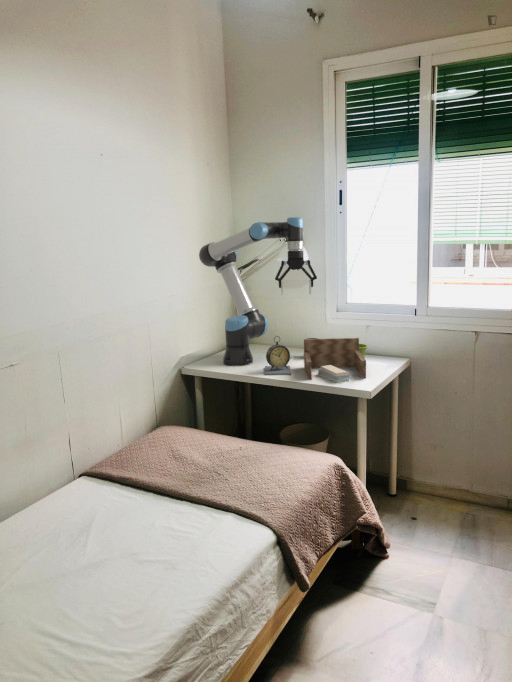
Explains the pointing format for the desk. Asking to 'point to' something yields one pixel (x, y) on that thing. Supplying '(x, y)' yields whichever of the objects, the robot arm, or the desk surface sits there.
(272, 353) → the alarm clock
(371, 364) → the desk surface
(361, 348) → the plant pot
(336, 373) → the book stack
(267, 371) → the mat
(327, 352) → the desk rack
